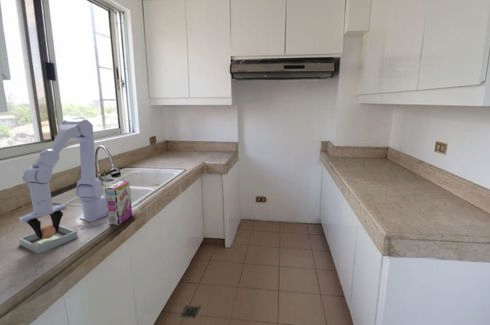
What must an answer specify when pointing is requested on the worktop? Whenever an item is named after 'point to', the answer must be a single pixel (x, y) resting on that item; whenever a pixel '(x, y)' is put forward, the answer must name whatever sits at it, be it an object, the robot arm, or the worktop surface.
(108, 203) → the candy bar box
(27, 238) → the grey shallow square tray
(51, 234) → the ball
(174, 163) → the worktop surface
